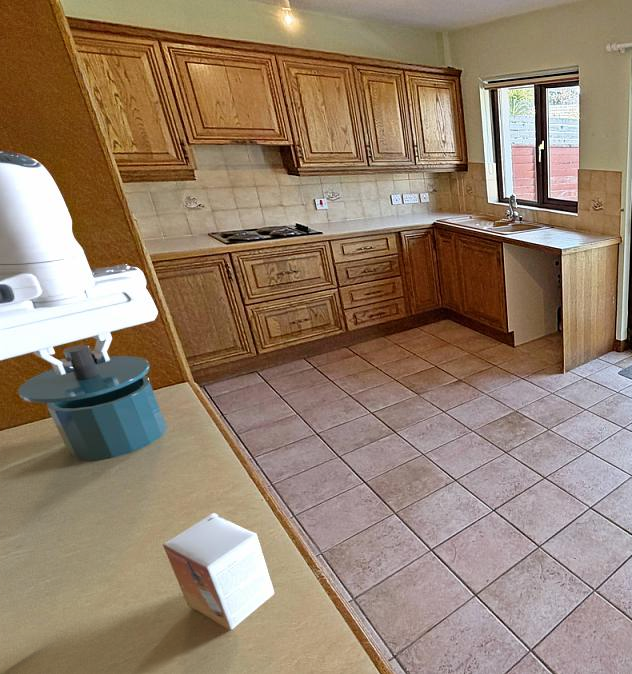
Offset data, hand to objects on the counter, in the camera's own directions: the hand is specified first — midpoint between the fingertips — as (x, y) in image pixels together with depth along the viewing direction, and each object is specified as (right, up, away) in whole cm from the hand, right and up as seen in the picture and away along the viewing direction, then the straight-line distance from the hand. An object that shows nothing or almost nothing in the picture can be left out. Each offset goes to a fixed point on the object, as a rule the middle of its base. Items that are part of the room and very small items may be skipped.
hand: (83, 367), depth 70 cm
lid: (0, -2, +1) cm, 2 cm away
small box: (+30, -29, -11) cm, 43 cm away
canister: (-11, -14, +16) cm, 25 cm away
